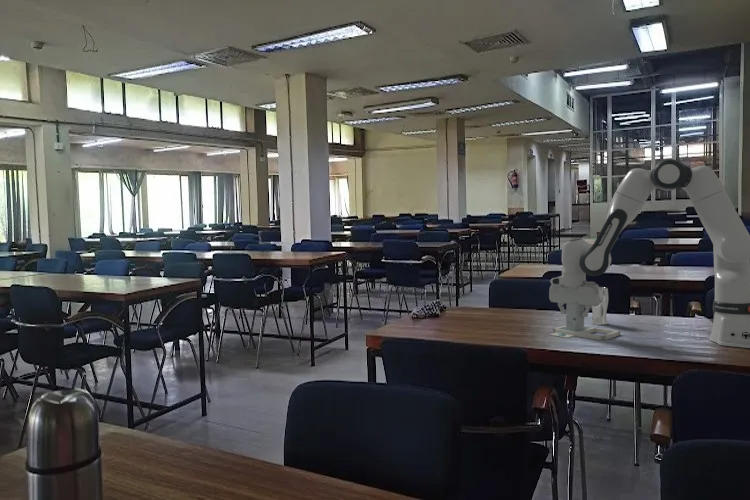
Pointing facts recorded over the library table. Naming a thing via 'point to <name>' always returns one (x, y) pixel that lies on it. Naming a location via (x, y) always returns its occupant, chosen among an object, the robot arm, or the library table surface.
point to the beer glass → (601, 308)
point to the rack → (585, 333)
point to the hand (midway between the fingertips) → (574, 315)
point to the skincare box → (574, 317)
